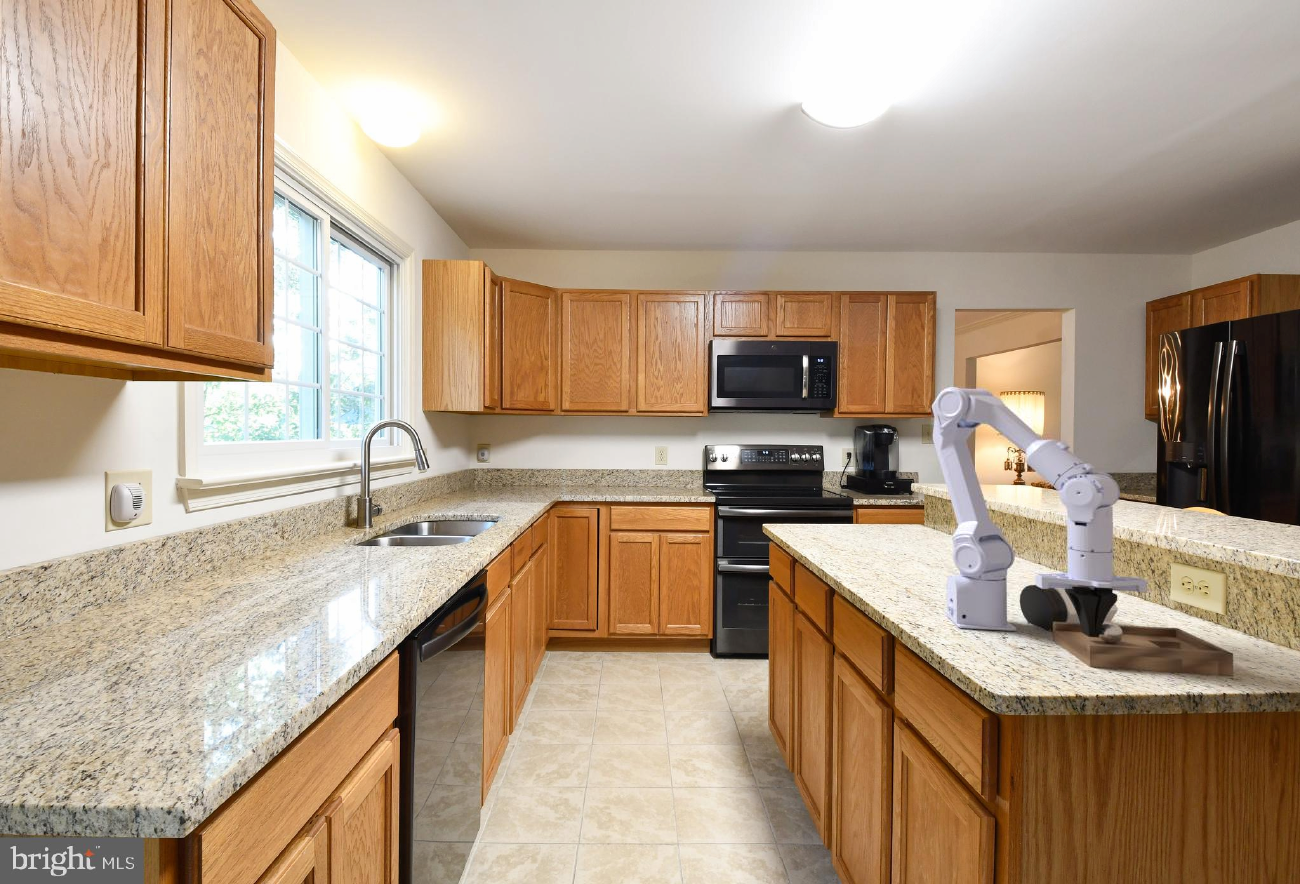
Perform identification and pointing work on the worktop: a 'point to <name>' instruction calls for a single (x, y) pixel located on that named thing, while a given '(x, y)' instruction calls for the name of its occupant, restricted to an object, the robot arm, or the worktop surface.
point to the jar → (1050, 607)
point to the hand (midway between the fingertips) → (1090, 635)
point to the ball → (1111, 632)
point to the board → (1146, 650)
